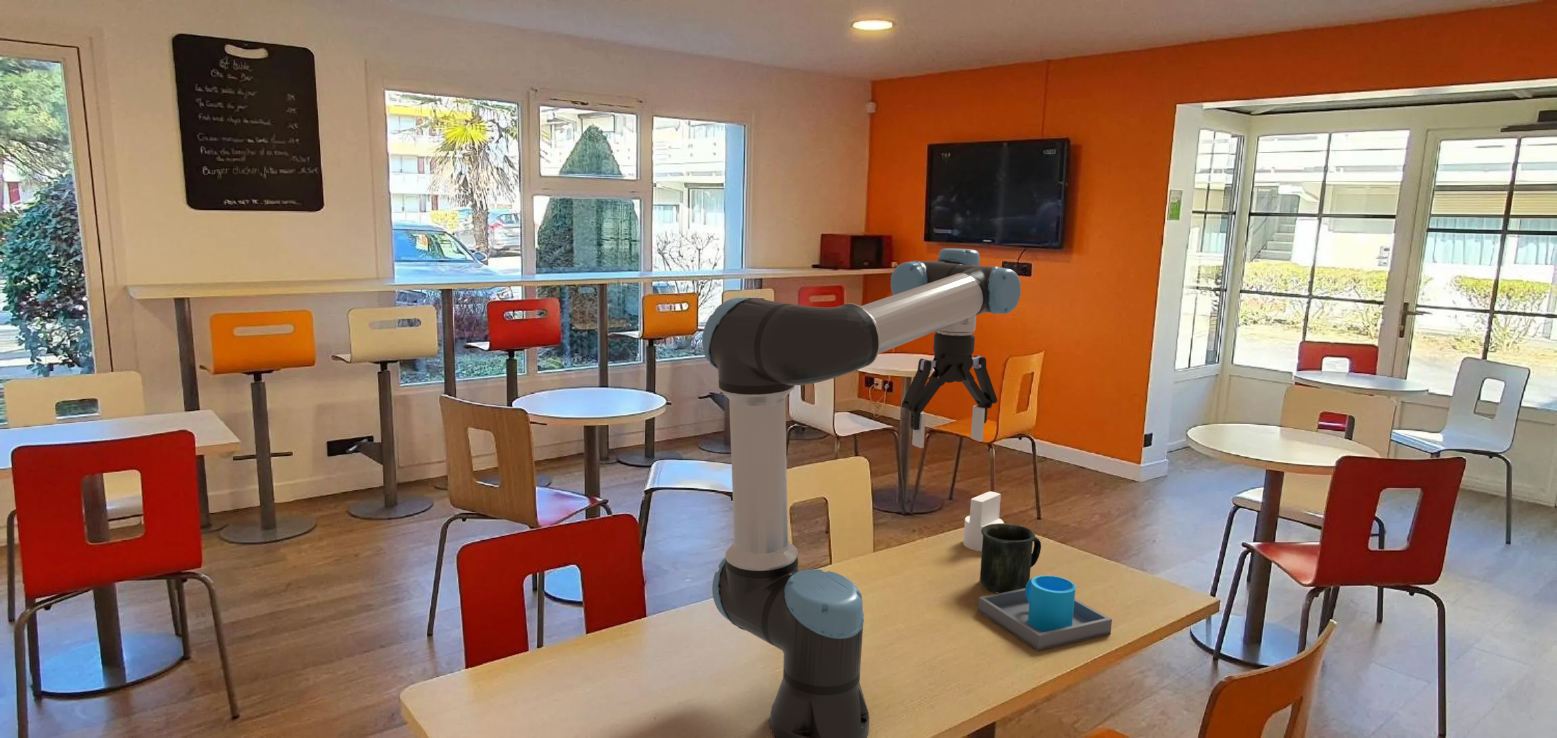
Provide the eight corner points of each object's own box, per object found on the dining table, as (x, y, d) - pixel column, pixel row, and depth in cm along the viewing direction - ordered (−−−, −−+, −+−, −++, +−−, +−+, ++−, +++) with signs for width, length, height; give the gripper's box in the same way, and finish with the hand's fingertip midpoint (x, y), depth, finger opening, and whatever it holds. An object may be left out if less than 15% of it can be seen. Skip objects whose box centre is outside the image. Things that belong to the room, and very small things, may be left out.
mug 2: (1081, 630, 174) (1084, 589, 173) (1045, 636, 171) (1048, 595, 170) (1042, 604, 185) (1045, 565, 184) (1008, 609, 182) (1011, 570, 181)
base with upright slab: (989, 554, 212) (993, 505, 210) (956, 544, 218) (959, 496, 216) (1009, 545, 219) (1012, 496, 217) (976, 535, 225) (979, 488, 223)
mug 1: (966, 580, 198) (970, 527, 195) (1019, 569, 204) (1023, 518, 202) (1000, 600, 188) (1004, 544, 186) (1054, 588, 195) (1058, 534, 192)
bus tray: (1038, 651, 167) (1039, 635, 166) (977, 611, 183) (978, 597, 182) (1110, 633, 174) (1112, 619, 174) (1046, 597, 190) (1048, 583, 189)
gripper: (909, 337, 162) (903, 454, 166) (1021, 332, 173) (1012, 442, 177) (886, 332, 169) (881, 443, 173) (995, 327, 179) (988, 432, 183)
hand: (947, 443), depth 175 cm, fingers open, 13 cm apart
